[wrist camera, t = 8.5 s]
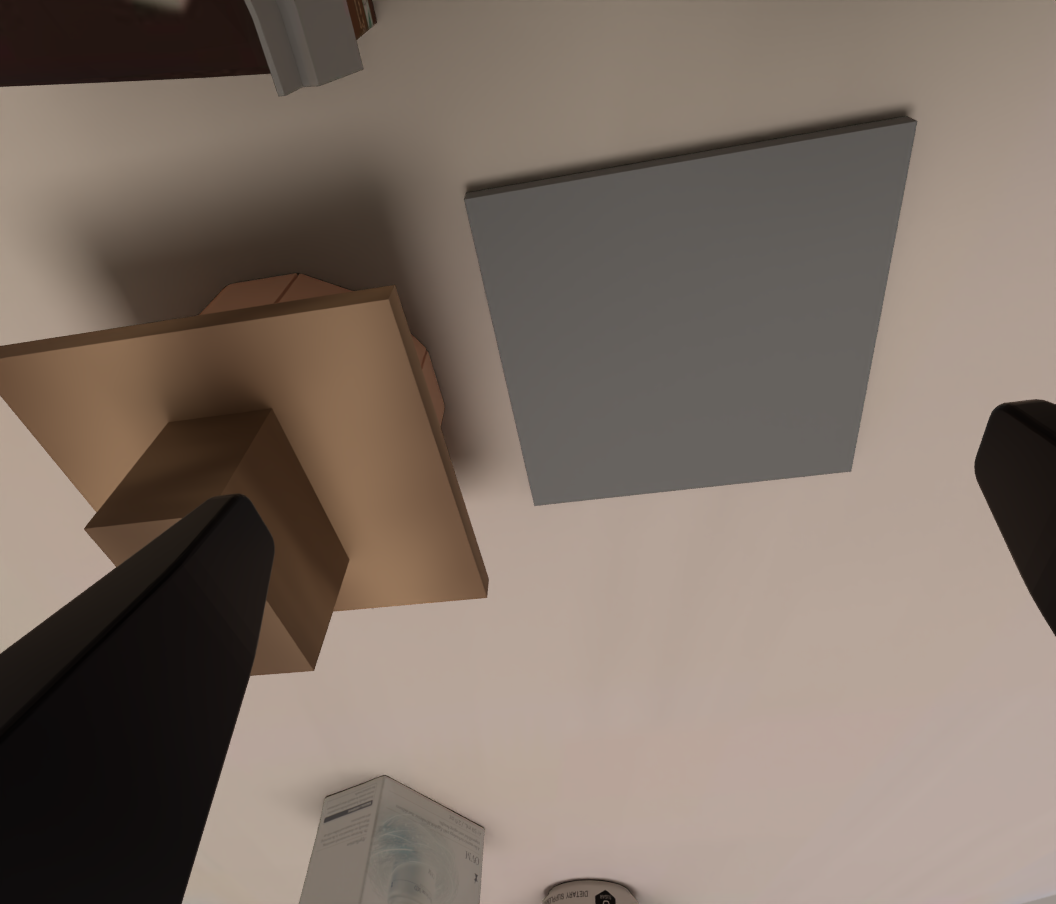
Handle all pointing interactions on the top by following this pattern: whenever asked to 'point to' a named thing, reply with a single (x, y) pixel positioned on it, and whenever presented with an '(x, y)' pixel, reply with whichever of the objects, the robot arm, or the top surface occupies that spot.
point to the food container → (181, 40)
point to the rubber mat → (694, 310)
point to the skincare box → (392, 850)
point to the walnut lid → (264, 450)
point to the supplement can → (589, 893)
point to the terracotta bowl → (306, 288)
